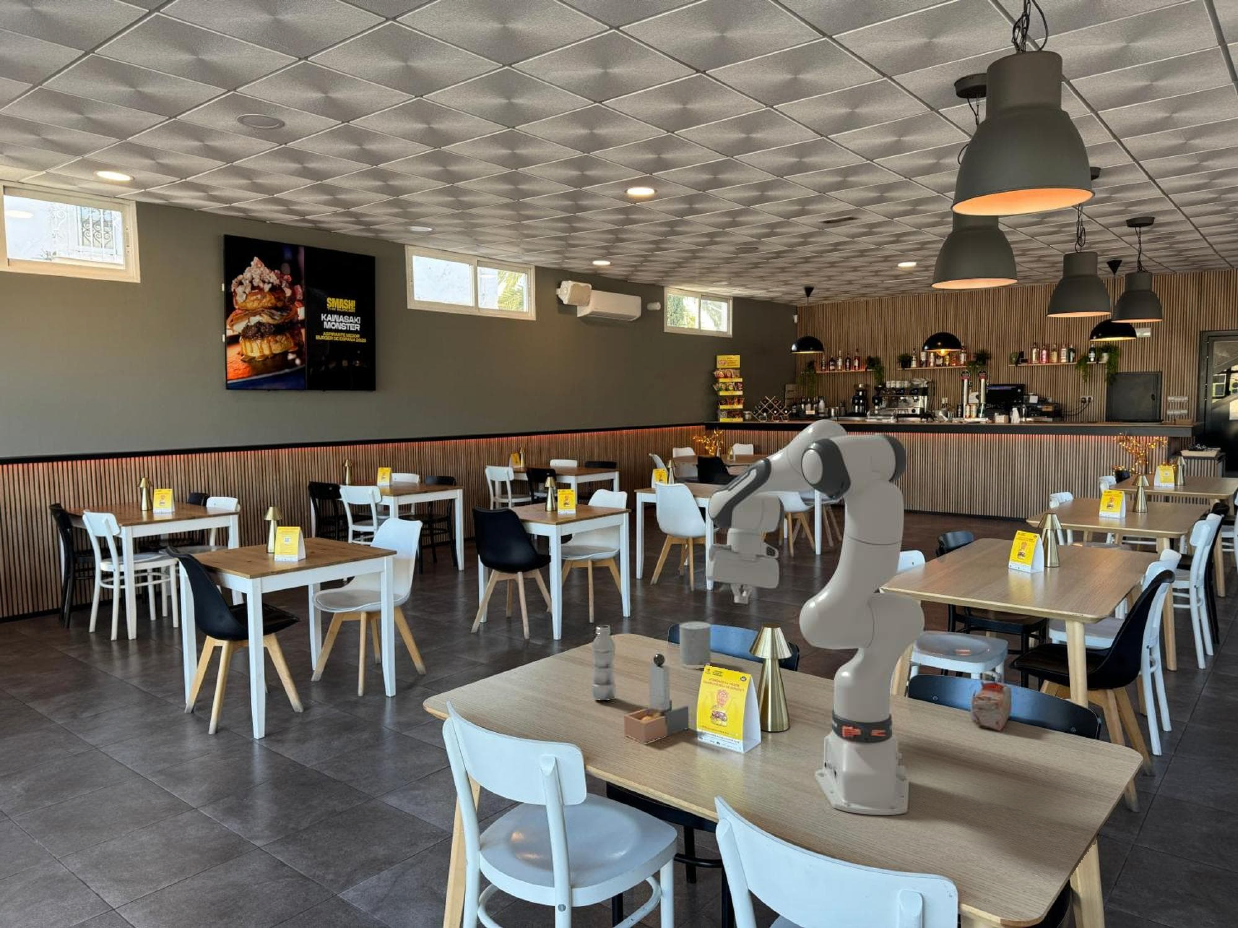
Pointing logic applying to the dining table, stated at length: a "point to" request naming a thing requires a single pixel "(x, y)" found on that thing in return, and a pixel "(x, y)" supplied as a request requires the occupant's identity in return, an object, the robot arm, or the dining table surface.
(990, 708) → the food item
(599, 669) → the plastic bottle
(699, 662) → the grey cylinder
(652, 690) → the grey upright post
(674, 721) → the launcher
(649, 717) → the ball
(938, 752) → the dining table surface
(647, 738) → the cup
